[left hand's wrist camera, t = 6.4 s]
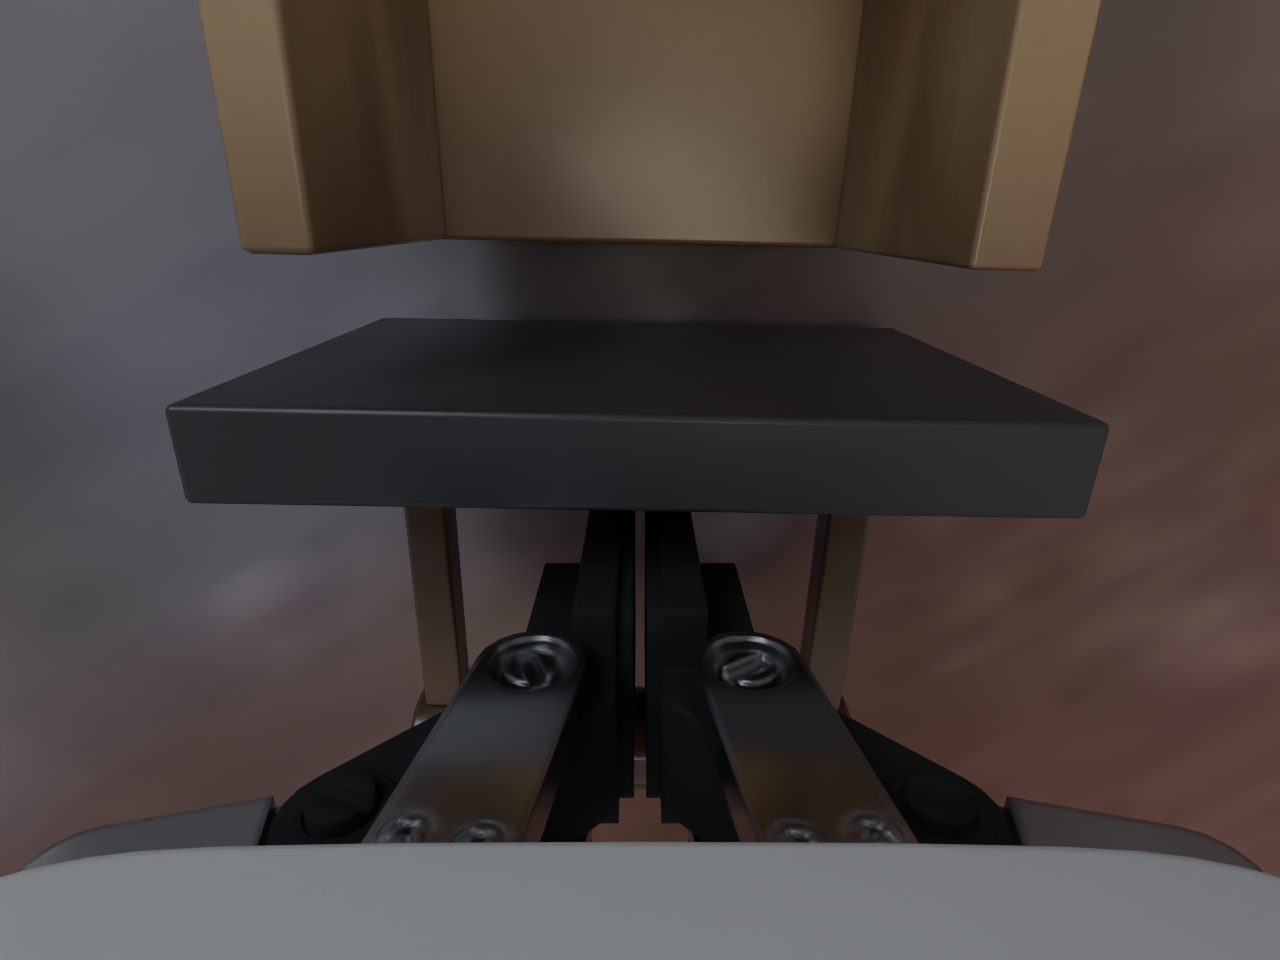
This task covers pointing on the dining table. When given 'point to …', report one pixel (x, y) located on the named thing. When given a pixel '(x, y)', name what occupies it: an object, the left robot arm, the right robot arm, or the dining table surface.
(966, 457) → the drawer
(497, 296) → the dining table surface
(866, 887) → the left robot arm
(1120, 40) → the dining table surface
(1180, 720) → the dining table surface
